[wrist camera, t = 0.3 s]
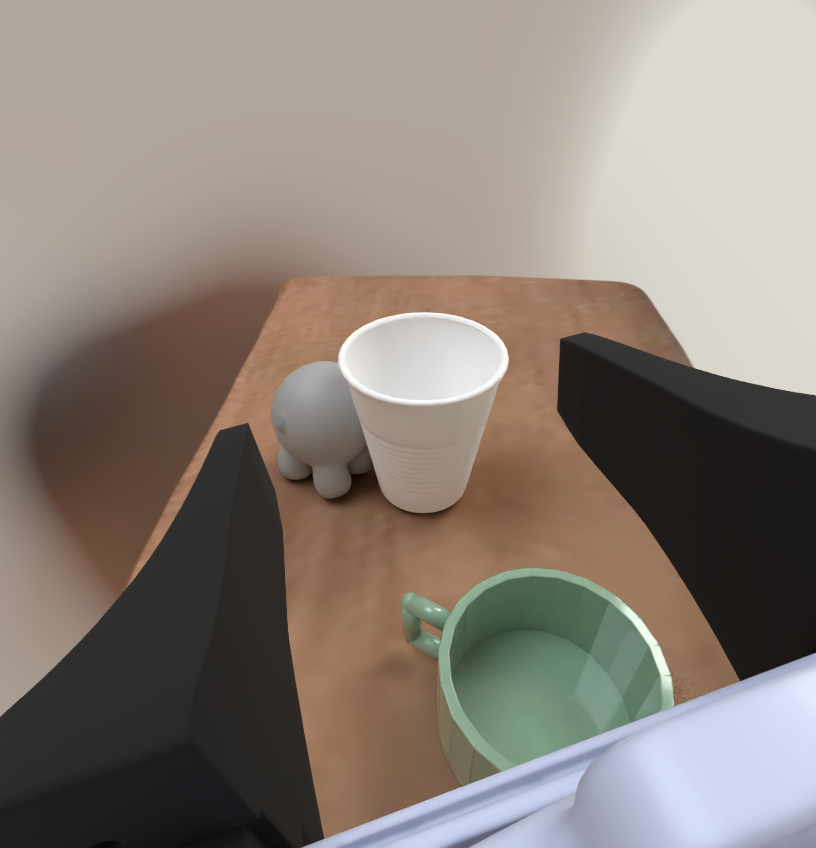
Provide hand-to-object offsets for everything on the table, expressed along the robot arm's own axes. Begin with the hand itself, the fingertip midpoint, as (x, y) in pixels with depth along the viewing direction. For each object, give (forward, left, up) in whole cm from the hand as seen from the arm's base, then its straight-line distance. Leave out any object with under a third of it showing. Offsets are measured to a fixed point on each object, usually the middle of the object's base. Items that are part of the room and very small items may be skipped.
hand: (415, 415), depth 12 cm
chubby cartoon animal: (+22, 0, -21) cm, 30 cm away
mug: (+1, -5, -20) cm, 21 cm away
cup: (+17, -4, -21) cm, 27 cm away
